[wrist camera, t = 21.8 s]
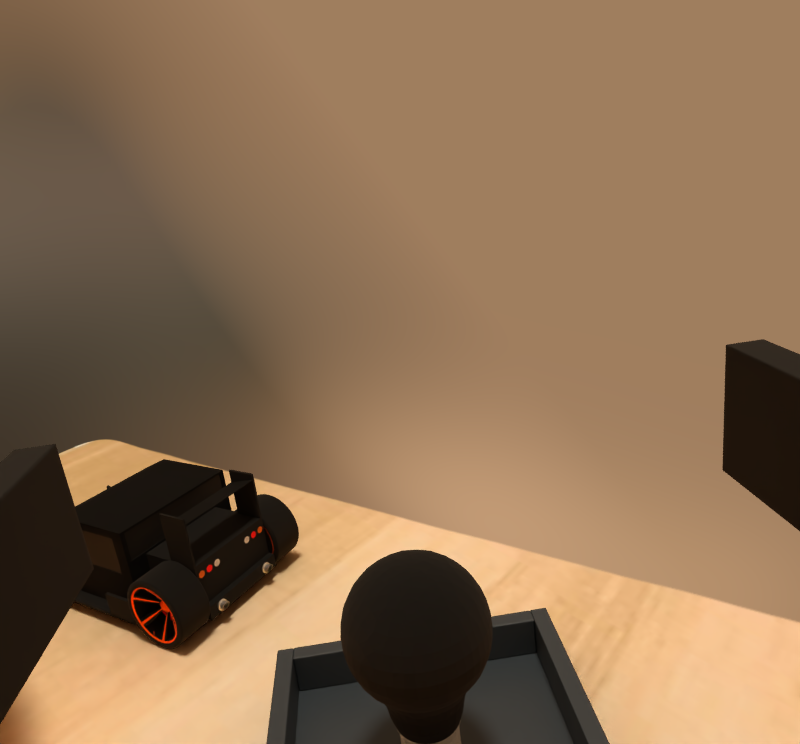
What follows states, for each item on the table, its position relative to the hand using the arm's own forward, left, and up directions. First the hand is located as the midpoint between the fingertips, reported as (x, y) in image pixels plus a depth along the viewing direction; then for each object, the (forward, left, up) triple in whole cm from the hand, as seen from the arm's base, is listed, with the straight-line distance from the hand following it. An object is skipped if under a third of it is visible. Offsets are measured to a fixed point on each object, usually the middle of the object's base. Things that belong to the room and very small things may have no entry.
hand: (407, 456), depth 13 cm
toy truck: (+18, -30, -20) cm, 40 cm away
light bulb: (0, -10, -19) cm, 21 cm away
